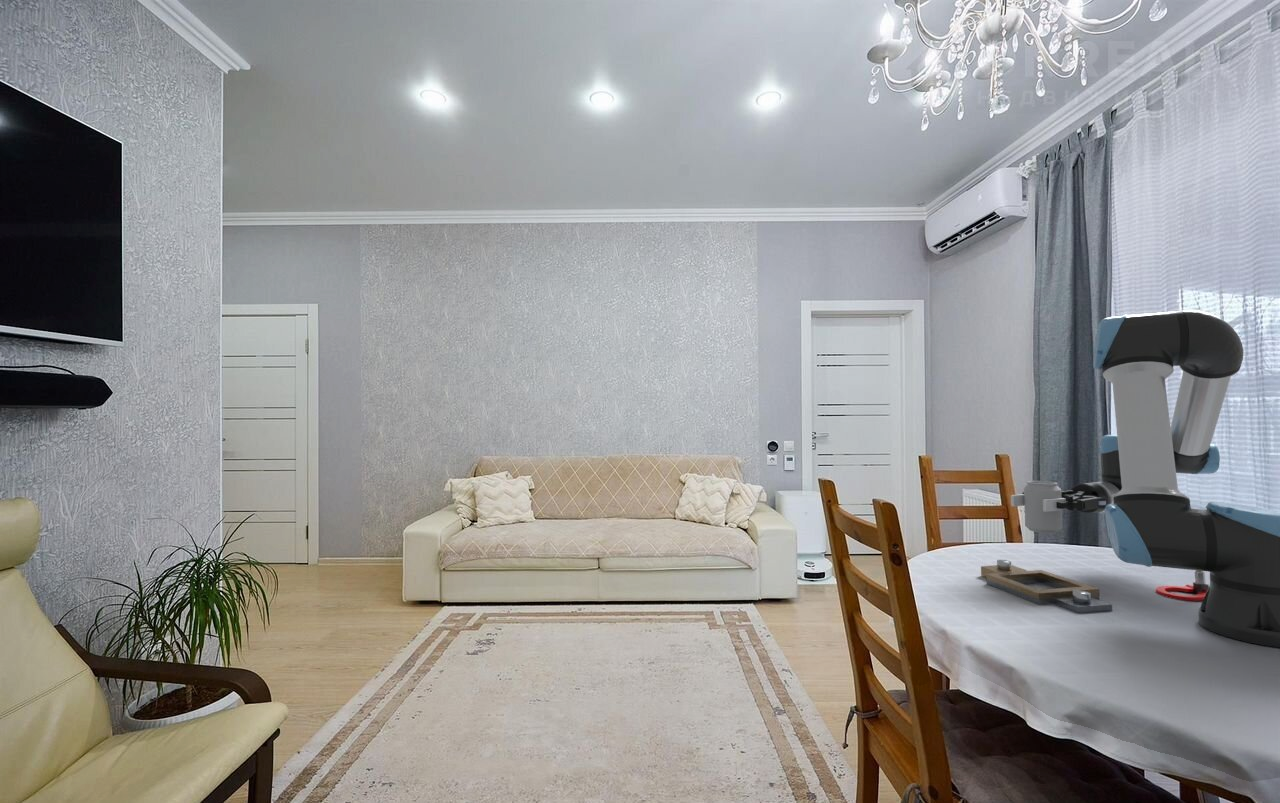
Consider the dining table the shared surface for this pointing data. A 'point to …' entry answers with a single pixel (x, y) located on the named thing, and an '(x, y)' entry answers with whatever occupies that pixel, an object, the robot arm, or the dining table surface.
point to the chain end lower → (1076, 603)
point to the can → (1041, 507)
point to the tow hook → (1187, 589)
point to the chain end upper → (1008, 573)
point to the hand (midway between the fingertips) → (1028, 503)
